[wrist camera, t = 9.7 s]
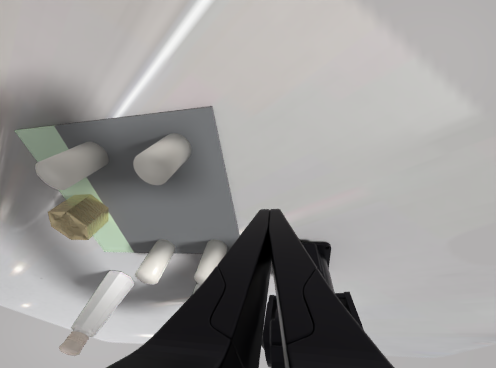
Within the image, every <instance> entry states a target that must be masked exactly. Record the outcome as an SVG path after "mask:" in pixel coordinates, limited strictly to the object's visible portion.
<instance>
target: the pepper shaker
mask: <svg viewBox="0 0 496 368" xmlns="http://www.w3.org/2000/svg"><path fill="white" fill-rule="evenodd" d="M134 284H135V283H134V282H133V280H132V278H131V277H130V276H128V275H126V274H124V273H123V272H120V271H109V272H108V273H107V275H106V276H105V277H104V279H103V280H102V282H101V283H100V285H99V286H98V288H97V289H96V291H95V292H94V294H93V295H92V297H91V298H90V300H89V301H88V303H87V304H86V306H85V307H84V309H83V310H82V312H81V313H80V315H79V316H78V318H77V319H76V321H75V322H74V324H73V325H72V327H71V328H72V330H73V331H72V332H71V334H70V335H69V336H68V337H67V339H66V340H65V342H64V343H63V344H61V345H60V347H59V349H60V351H61V352H63V353H65V354H67V355H72V356H76V355H79V354H80V352H81V350H82V348H83V347H84V345H85V344H86V342H87V340H88V339H89V337H93V336H94V335H96V333H97V332H98V331H99V330H100V329H101V327H102V326H103V325H104V323H105V322H106V321H107V320H108V318H109V317H110V316H111V314H112V313H113V312H114V310H115V309H116V308H117V307H118V305H119V304H120V303H121V301H122V300H123V299H124V297H125V296H126V295H127V294H128V292H129V291H130V290H131V288H132V287H133V286H134Z"/></svg>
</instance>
